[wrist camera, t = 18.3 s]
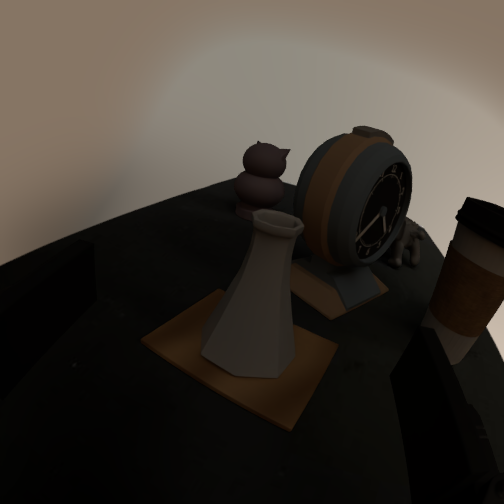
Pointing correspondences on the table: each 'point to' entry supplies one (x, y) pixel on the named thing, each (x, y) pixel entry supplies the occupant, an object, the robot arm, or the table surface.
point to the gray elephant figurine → (406, 244)
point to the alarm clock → (348, 218)
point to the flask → (257, 304)
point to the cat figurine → (260, 179)
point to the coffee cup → (469, 279)
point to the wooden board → (240, 387)
